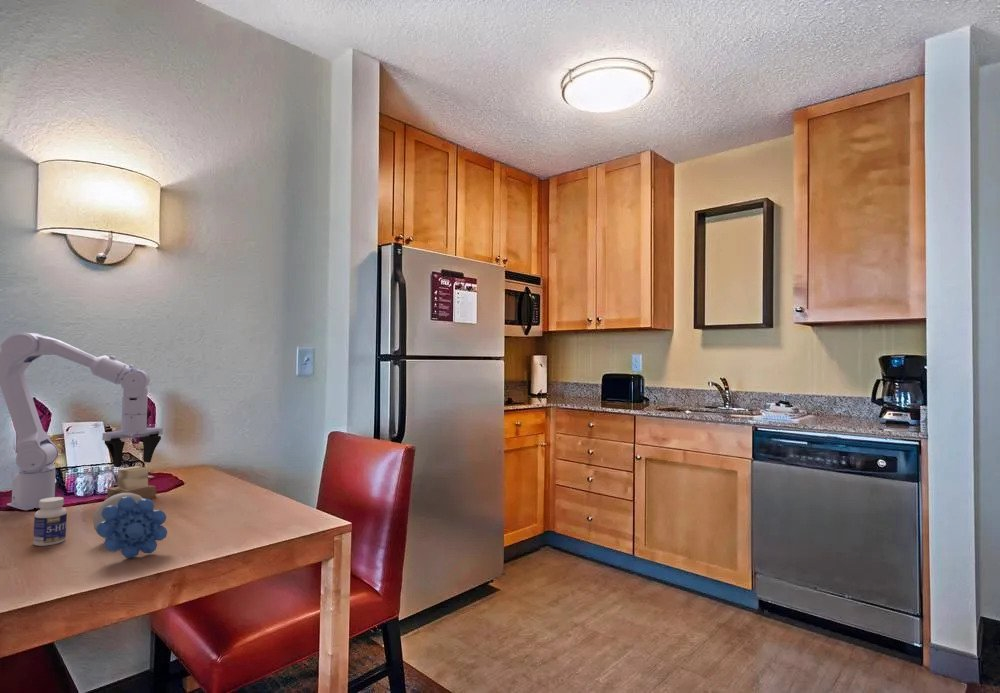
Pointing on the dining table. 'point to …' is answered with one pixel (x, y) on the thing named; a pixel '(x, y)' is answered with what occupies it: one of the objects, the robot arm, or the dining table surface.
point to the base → (135, 492)
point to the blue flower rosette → (132, 527)
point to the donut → (112, 502)
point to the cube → (132, 478)
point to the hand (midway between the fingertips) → (132, 464)
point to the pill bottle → (50, 522)
